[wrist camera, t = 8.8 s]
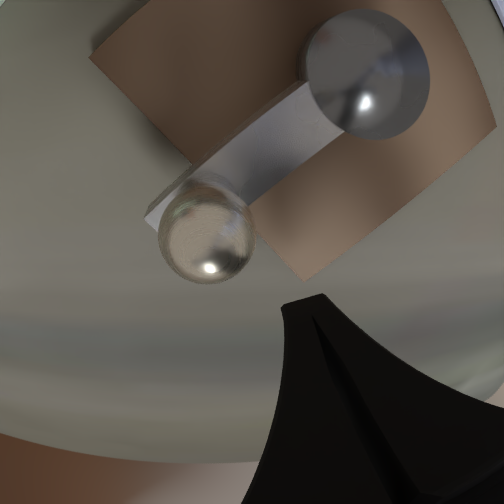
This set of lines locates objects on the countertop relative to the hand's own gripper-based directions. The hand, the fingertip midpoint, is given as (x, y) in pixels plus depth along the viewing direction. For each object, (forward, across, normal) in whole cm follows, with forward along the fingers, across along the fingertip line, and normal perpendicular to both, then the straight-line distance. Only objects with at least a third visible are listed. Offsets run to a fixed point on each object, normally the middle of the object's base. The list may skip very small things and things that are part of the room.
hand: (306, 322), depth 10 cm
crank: (+2, -1, -6) cm, 6 cm away
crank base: (+3, -3, -7) cm, 8 cm away
